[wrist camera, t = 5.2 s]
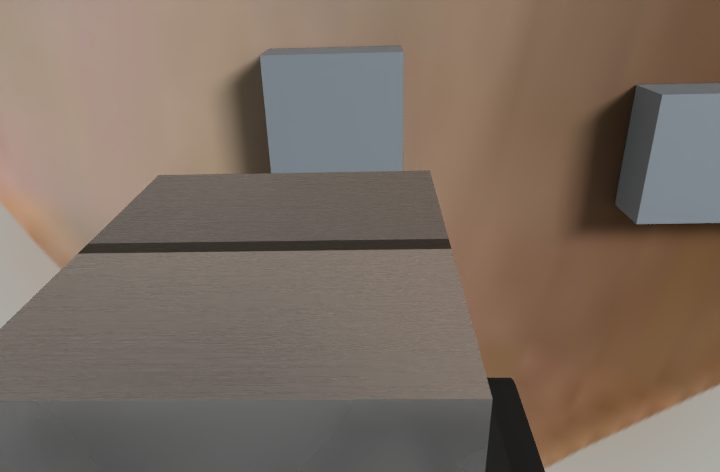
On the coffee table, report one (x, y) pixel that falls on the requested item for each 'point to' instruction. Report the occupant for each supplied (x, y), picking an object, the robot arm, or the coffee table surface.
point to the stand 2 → (672, 155)
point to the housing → (252, 335)
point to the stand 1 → (334, 108)
